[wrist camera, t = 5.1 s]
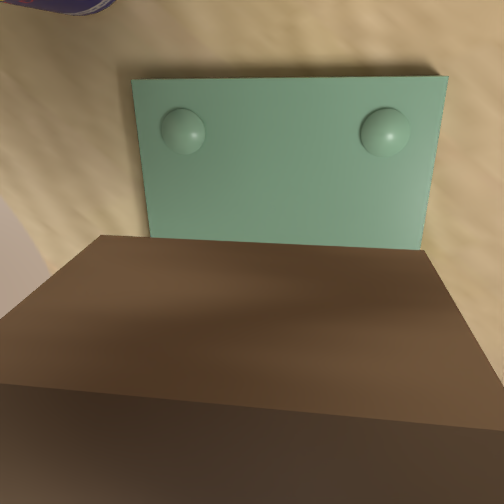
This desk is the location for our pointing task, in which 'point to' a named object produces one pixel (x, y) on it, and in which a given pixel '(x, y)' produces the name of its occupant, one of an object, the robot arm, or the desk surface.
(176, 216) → the baseplate
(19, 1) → the energy drink
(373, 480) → the walnut brick
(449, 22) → the desk surface
